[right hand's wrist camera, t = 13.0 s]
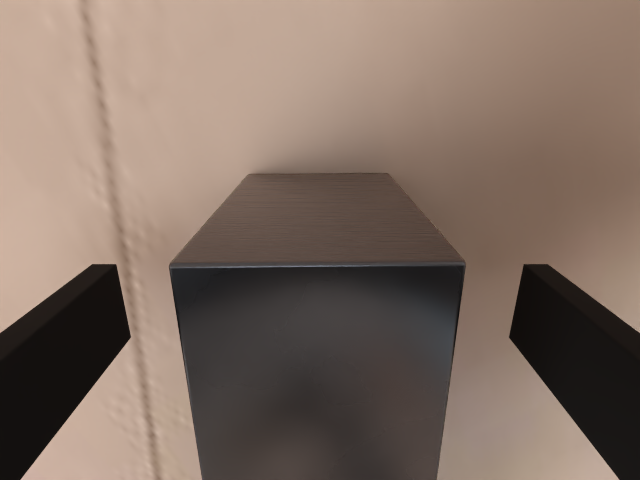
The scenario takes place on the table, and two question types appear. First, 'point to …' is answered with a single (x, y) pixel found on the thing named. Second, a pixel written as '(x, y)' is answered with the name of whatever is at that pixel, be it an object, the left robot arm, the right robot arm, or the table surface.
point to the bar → (318, 331)
